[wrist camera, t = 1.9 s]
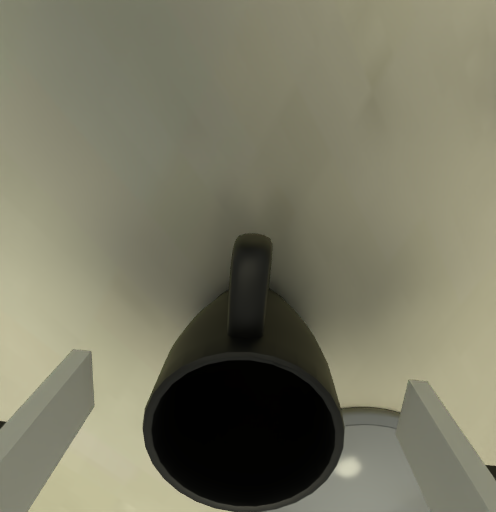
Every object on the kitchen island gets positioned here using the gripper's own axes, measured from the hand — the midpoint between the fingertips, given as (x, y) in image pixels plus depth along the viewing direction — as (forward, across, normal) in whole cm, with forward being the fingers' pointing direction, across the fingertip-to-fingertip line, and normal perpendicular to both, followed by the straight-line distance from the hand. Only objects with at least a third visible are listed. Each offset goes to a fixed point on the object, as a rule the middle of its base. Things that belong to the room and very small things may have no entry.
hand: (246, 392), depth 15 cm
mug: (+9, 0, +1) cm, 9 cm away
